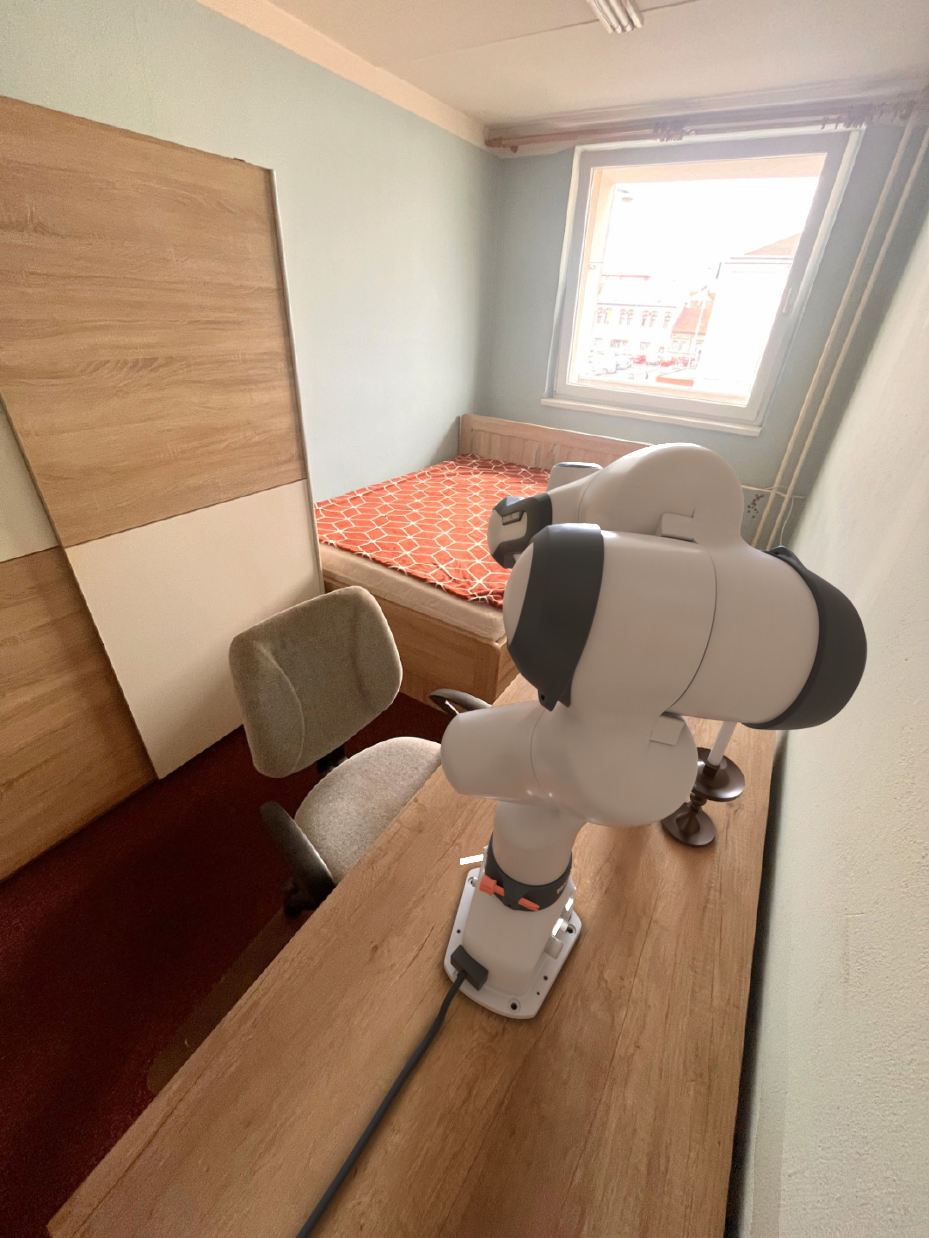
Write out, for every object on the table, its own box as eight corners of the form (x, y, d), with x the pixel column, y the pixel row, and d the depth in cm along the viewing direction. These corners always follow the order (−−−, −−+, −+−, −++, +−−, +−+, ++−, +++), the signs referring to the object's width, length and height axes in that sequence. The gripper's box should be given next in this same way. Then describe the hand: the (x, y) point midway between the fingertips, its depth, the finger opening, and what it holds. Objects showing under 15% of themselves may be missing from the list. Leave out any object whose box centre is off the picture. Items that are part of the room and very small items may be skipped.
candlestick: (727, 824, 93) (800, 673, 74) (706, 864, 86) (780, 709, 67) (670, 790, 99) (724, 643, 80) (645, 826, 92) (698, 674, 73)
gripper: (565, 593, 73) (554, 670, 80) (598, 545, 89) (586, 613, 96) (524, 583, 75) (517, 659, 82) (563, 539, 91) (554, 606, 98)
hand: (555, 634), depth 89 cm, fingers open, 8 cm apart
